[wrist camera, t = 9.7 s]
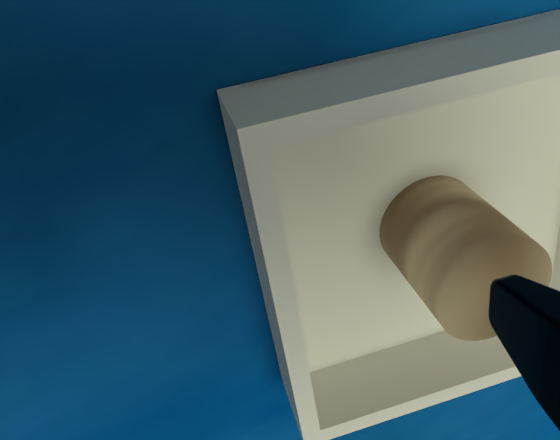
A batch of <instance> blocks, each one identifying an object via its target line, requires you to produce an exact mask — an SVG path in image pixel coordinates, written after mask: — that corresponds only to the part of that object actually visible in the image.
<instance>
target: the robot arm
mask: <svg viewBox="0 0 560 440" xmlns="http://www.w3.org/2000/svg"><path fill="white" fill-rule="evenodd" d="M488 317H489V321H490V324H491V326H492V328H493V330H494V331H495V333H496V335H497V336H498V338H499V340H500V341H501V343H502V345H503V346H504V348H505V350H506V351H507V353H508V355H509V356H510V358H511V359H512V361H513V363H514V364H515V366H516V368H517V369H518V371H519V373H520V374H521V376H522V378H523V379H524V381H525V382H526V384H527V386H528V387H529V389H530V391H531V392H532V394H533V395H534V397H535V398H536V400H537V401H538V403H539V404H540V405H541V407H542V408H543V410H544V411H545V412H546V414H547V415H548V416H549V418H550V419H551V420H552V422H553V423H554V424H555V426H556V427H557V428H558V429H559V431H560V291H558V290H556V289H553V288H551V287H548V286H546V285H543V284H540V283H538V282H535V281H533V280H530V279H527V278H525V277H522V276H520V275H516V274H511V275H507V276H504V277H501V278H497V279H495V280H493V281H492V283H491V285H490V295H489V309H488Z"/></svg>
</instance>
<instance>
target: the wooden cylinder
mask: <svg viewBox="0 0 560 440" xmlns="http://www.w3.org/2000/svg"><path fill="white" fill-rule="evenodd" d="M380 242H381V245H382V247H383V249H384V251H385V252H386V254H387V255H388V256H389V258H390V259H391V260H392V262H393V263H394V264H395V265H396V267H397V268H398V269H399V271H400V272H401V273H402V275H403V276H404V277H405V279H406V280H407V281H408V282H409V284H410V285H411V286H412V288H413V289H414V290H415V292H416V293H417V294H418V296H419V297H420V298H421V300H422V301H423V302H424V303H425V305H426V306H427V307H428V309H429V310H430V311H431V313H432V314H433V315H434V317H435V318H436V319H437V321H438V322H439V323H440V324H441V326H442V327H443V328H444V330H445V331H446V332H447V333H448V334H450V335H451V336H453V337H455V338H457V339H461V340H465V341H479V340H485V339H489V338H492V337H495V336H497V335H496V333H495V331H494V330H493V328H492V326H491V324H490V321H489V317H488V309H489V295H490V285H491V283H492V281H493V280H495V279H497V278H501V277H504V276H507V275H511V274H516V275H520V276H522V277H525V278H527V279H530V280H533V281H535V282H538V283H540V284H543V285H546V286H548V287H549V284H550V281H551V277H552V262H551V259H550V256H549V254H548V252H547V251H546V250H545V249H544V248H543V247H542V246H541V245H540V244H538V243H537V242H536V241H535V240H534V239H532V238H531V237H530V236H529V235H527V234H526V233H525V232H524V231H522V230H521V229H520V228H519V227H517V226H516V225H515V224H514V223H512V222H511V221H510V220H509V219H507V218H506V217H505V216H504V215H502V214H501V213H500V212H499V211H498V210H496V209H495V208H494V207H493V206H491V205H490V204H489V203H488V202H486V201H485V200H484V199H483V198H481V197H480V196H479V195H478V194H476V193H475V192H474V191H473V190H471V189H470V188H469V187H468V186H467V185H465V184H464V183H463V182H462V181H460V180H458V179H456V178H453V177H450V176H442V175H439V176H431V177H426V178H423V179H420V180H418V181H416V182H414V183H412V184H411V185H409V186H407V187H406V188H405V189H403V190H402V191H401V192H400V193H399V194H398V195H397V196H396V197H395V198H394V199H393V200H392V201H391V203H390V204H389V206H388V207H387V209H386V211H385V213H384V215H383V217H382V221H381V224H380Z"/></svg>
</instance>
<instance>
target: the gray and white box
mask: <svg viewBox="0 0 560 440" xmlns="http://www.w3.org/2000/svg"><path fill="white" fill-rule="evenodd" d="M217 95H218V99H219V104H220V108H221V112H222V117H223V121H224V126H225V130H226V134H227V139H228V143H229V148H230V152H231V157H232V161H233V165H234V170H235V174H236V179H237V183H238V187H239V192H240V196H241V201H242V205H243V209H244V214H245V218H246V223H247V227H248V231H249V236H250V240H251V245H252V249H253V253H254V258H255V262H256V267H257V271H258V275H259V280H260V284H261V289H262V293H263V297H264V302H265V306H266V311H267V315H268V319H269V324H270V328H271V333H272V337H273V341H274V346H275V350H276V355H277V359H278V364H279V368H280V372H281V377H282V381H283V384H284V387H285V390H286V393H287V396H288V398H289V401H290V404H291V407H292V410H293V413H294V416H295V419H296V422H297V425H298V428H299V431H300V434H301V437H302V440H330V439H333V438H336V437H339V436H342V435H345V434H348V433H351V432H354V431H357V430H360V429H363V428H366V427H369V426H372V425H375V424H378V423H381V422H384V421H387V420H390V419H393V418H396V417H399V416H402V415H405V414H408V413H411V412H414V411H417V410H420V409H423V408H426V407H429V406H432V405H435V404H438V403H441V402H444V401H447V400H450V399H453V398H456V397H459V396H462V395H465V394H468V393H471V392H474V391H477V390H480V389H483V388H486V387H489V386H492V385H495V384H498V383H501V382H504V381H507V380H510V379H513V378H516V377H519V376H521V374H520V373H519V371H518V369H517V368H516V366H515V364H514V363H513V361H512V359H511V358H510V356H509V355H508V353H507V351H506V350H505V348H504V346H503V345H502V343H501V341H500V340H499V338H498V336H495V337H492V338H489V339H485V340H479V341H465V340H461V339H457V338H455V337H453V336H451V335H450V334H448V333H447V332H446V331H445V330H444V328H443V327H442V326H441V324H440V323H439V322H438V321H437V319H436V318H435V317H434V315H433V314H432V313H431V311H430V310H429V309H428V307H427V306H426V305H425V303H424V302H423V301H422V300H421V298H420V297H419V296H418V294H417V293H416V292H415V290H414V289H413V288H412V286H411V285H410V284H409V282H408V281H407V280H406V279H405V277H404V276H403V275H402V273H401V272H400V271H399V269H398V268H397V267H396V265H395V264H394V263H393V262H392V260H391V259H390V258H389V256H388V255H387V254H386V252H385V251H384V249H383V247H382V245H381V242H380V224H381V221H382V217H383V215H384V213H385V211H386V209H387V207H388V206H389V204H390V203H391V201H392V200H393V199H394V198H395V197H396V196H397V195H398V194H399V193H400V192H401V191H402V190H403V189H405V188H406V187H407V186H409V185H411V184H412V183H414V182H416V181H418V180H420V179H423V178H426V177H431V176H439V175H442V176H450V177H453V178H456V179H458V180H460V181H462V182H463V183H464V184H465V185H467V186H468V187H469V188H470V189H471V190H473V191H474V192H475V193H476V194H478V195H479V196H480V197H481V198H483V199H484V200H485V201H486V202H488V203H489V204H490V205H491V206H493V207H494V208H495V209H496V210H498V211H499V212H500V213H501V214H502V215H504V216H505V217H506V218H507V219H509V220H510V221H511V222H512V223H514V224H515V225H516V226H517V227H519V228H520V229H521V230H522V231H524V232H525V233H526V234H527V235H529V236H530V237H531V238H532V239H534V240H535V241H536V242H537V243H538V244H540V245H541V246H542V247H543V248H544V249H545V250H546V251H547V252H548V254H549V256H550V259H551V262H552V277H551V281H550V284H549V287H551V288H553V289H556V290H558V291H560V9H558V10H553V11H549V12H545V13H541V14H536V15H532V16H528V17H524V18H519V19H515V20H511V21H507V22H502V23H498V24H494V25H490V26H485V27H481V28H477V29H473V30H468V31H464V32H460V33H456V34H451V35H447V36H443V37H439V38H434V39H430V40H426V41H422V42H417V43H413V44H409V45H405V46H400V47H396V48H392V49H388V50H383V51H379V52H375V53H371V54H366V55H362V56H358V57H354V58H349V59H345V60H341V61H337V62H332V63H328V64H324V65H320V66H315V67H311V68H307V69H303V70H298V71H294V72H290V73H286V74H281V75H277V76H273V77H269V78H264V79H260V80H256V81H252V82H247V83H243V84H239V85H235V86H230V87H226V88H222V89H218V90H217Z"/></svg>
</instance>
